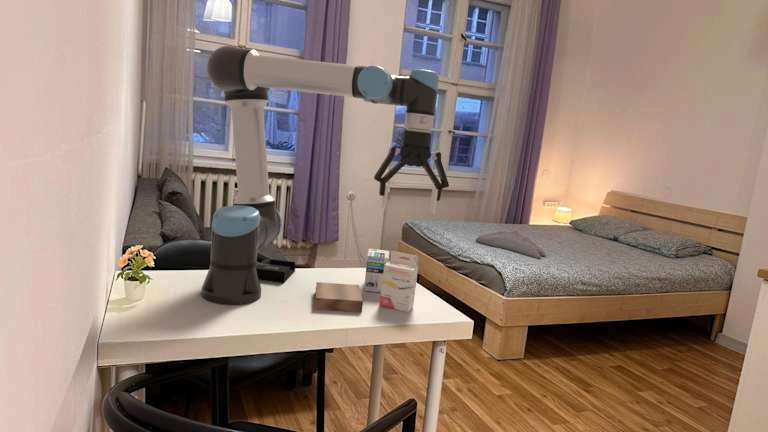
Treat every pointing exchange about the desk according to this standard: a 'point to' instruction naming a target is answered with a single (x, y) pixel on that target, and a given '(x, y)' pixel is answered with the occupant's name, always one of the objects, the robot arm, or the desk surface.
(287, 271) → the battery charger
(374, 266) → the light bulb box
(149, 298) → the desk surface
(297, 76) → the robot arm
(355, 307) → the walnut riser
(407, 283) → the ink cartridge box
